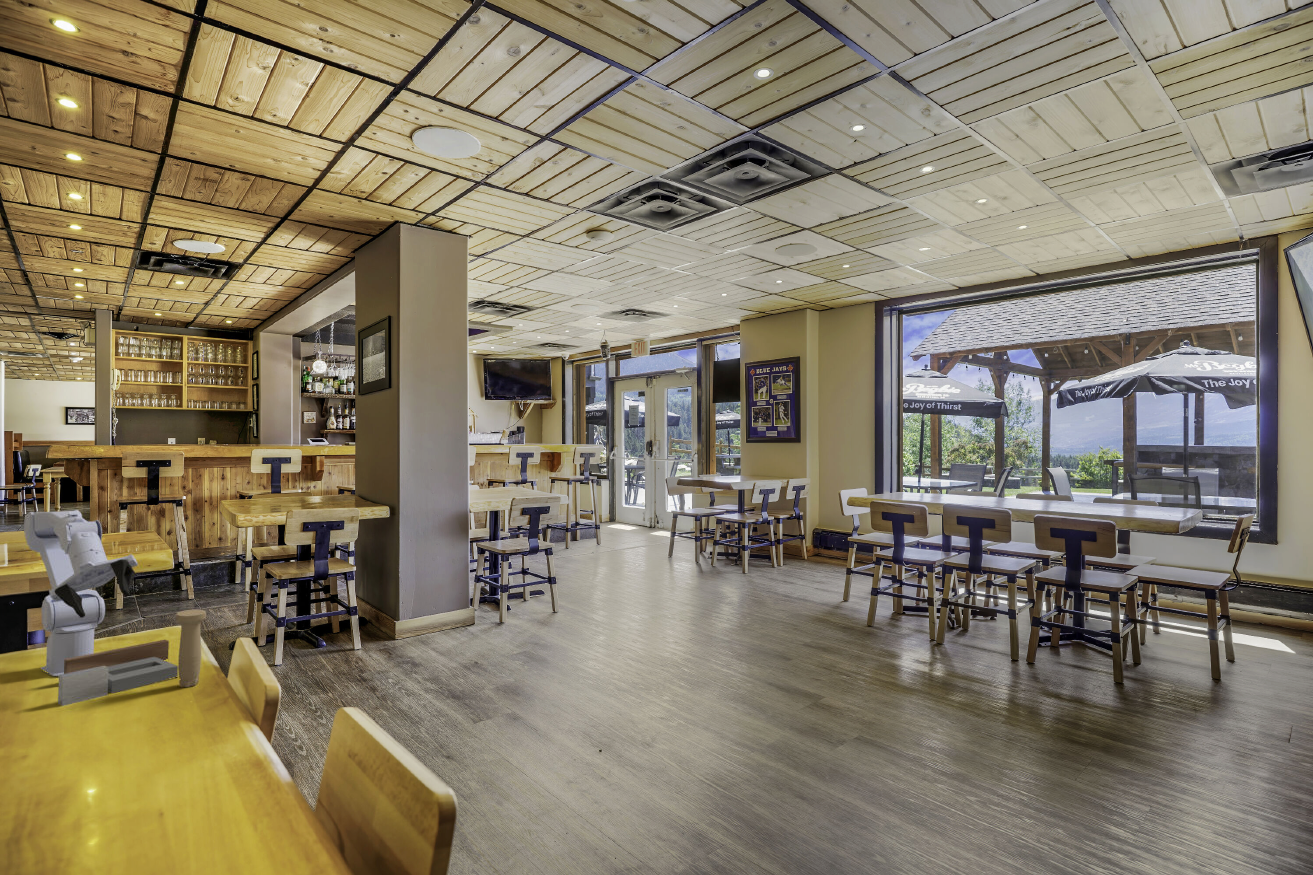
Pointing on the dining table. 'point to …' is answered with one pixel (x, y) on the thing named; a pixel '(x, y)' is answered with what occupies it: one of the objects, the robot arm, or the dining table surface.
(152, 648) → the brown long flat block
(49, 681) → the dining table surface
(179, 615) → the handle
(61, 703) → the white wooden block
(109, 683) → the slotted grey plate
